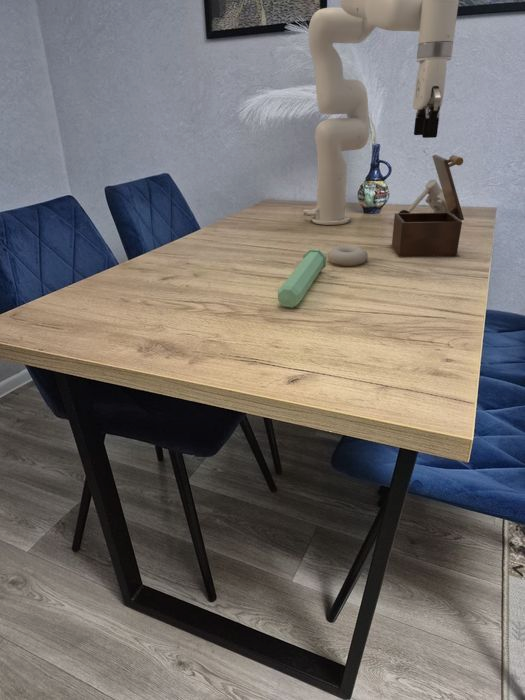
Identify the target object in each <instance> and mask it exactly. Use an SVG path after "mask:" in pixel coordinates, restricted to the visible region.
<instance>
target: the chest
mask: <svg viewBox="0 0 525 700" xmlns="http://www.w3.org/2000/svg"><path fill="white" fill-rule="evenodd" d="M393 217H394V219H393V228H392V237H391V238H392V240H391V246H392V248H393V250H394V251H395V252H396V254H397V256H398V257H399V258H421V257H422V258H424V257H425V258H428V257H429V258H431V257H432V258H434V257H436V258H437V257H438V258H439V257H457V256H458V250H459V244H460V237H461V231H462V227H463V226H462V225H463V221H461V220H459V219H458V218H457V217H455V216H454V215H452V214H451V213H450V212H446V213H433V212H410V213H399V212H396V213H394V216H393Z"/></svg>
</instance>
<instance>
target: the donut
mask: <svg viewBox="0 0 525 700" xmlns="http://www.w3.org/2000/svg"><path fill="white" fill-rule="evenodd" d="M327 258H328V261H329V262H330V263H332V264H334V265H337V266H341V267H342V266H343V267H353V266H359V265H361V264H363V263H364V262H366V260H367V259H368V252H367V250H366V249H365V248H364V247H361V246H359V245H354V244H353V245H352V244H341V245H336V246H333V247H332V248H330V249H329V251H328V252H327Z"/></svg>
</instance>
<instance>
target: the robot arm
mask: <svg viewBox="0 0 525 700" xmlns="http://www.w3.org/2000/svg"><path fill="white" fill-rule="evenodd" d="M459 2H460V0H339V4H340V7H324V8H320V9H319V10H316V11H315V12H314V13H313V15H312V16H311V18H310V20H309V24H308V29H307V31H308V32H307V33H308V34H307V41H308V48H309V52H310V55H311V59H312V63H313V68H314V69H313V70H314V81H315V95H316V103H317V104H316V105H317V108H318V110H319V112H320V113H321V114H323V115H346V116H347V117H337V118H327V119H324V120H322V121H321V122H320V123H318V125H316V128H315V131H314V139H315V140H314V141H315V146H316V154H317V156H316V157H317V177H316V179H317V182H316V206H315V208H312V209H303V216H306V217H311V221H312V223H313V224H316V225H322V226H338V225H345V224H347V223H349V222H350V217H349V216H348V215H346V201H347V200H346V199H347V175H348V165H347V161H346V159H345V156H344V155H343V153H342V152H346V151H347V152H348V151H358V150H361V149H363V148H365V147H366V145H367V144H368V141H369V139H370V138H369V137H370V117H369V114H370V113H369V99H368V97H369V96H368V91H367V89H366V85H365V84H364V82H362V81H361V80H358V79H345V77H344V69H343V68H344V67H343V66H344V65H343V61H342V59H341V56H340V54H339V52H338V51H337V49H336V48H335V47H334V45H333V44H360V43H362V42H364V41H365V40H366V39H368V37H369V36H370V35H371V34H372V32H373V31H375V29H376V28H377V29H381V30H385V31H389V32H418V43H417V50H416V61H415V62H416V63H419V64H418V68H417V72H416V73H417V74H416V79H415V86H414V94H413V102H412V108H413V109H414V110H416V113H415V118H414V127H413V128H414V129H413V135H414V136H422V138H423V139H430V138H432V139H433V138H437V136H438V130H439V122H440V111H441V107H442V105H443V101H444V96H445V95H444V94H445V87H446V77H447V76H446V75H447V64H448V63H447V62H448V61H451V60H452V56H453V49H454V48H453V47H454V41H455V40H454V39H455V33H456V25H457V17H458V11H459V10H458V9H459Z"/></svg>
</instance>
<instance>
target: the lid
mask: <svg viewBox="0 0 525 700" xmlns="http://www.w3.org/2000/svg"><path fill="white" fill-rule="evenodd" d="M431 158H432V160H433V163H434V167H435V170H436V174H437V177H438V180H439V184H440V188H441V189H442V191H443V194H444V198H445V201H446V205H447V208H448V211H449V212H450V213H452V214H453V215H454V216H455V217H456V218H457V219H459V220H460V221H461V222H463V221H464V220H465V218H464V215H463V210H462V207H461V204H460V200H459V196H458V193H457V189H456V186H455V182H454V179H453V175H452V172H451V167H454V166H462V165H463V163H464V158H463V157H461V156H458V155H455V154H452V155H450V157H448V158H449V159H447V158H444V157H442V156H440V155H437V154H434V155H432V157H431Z"/></svg>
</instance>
